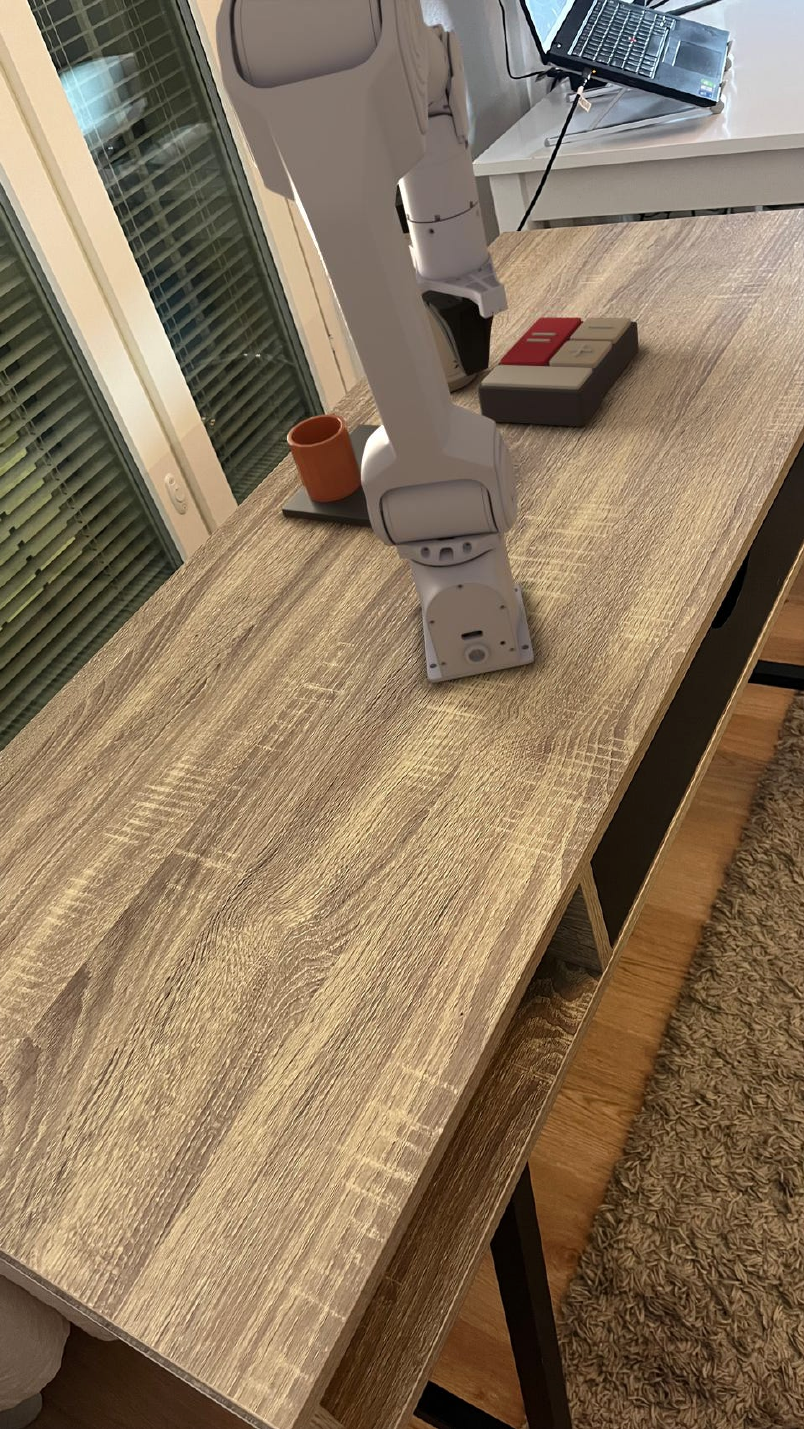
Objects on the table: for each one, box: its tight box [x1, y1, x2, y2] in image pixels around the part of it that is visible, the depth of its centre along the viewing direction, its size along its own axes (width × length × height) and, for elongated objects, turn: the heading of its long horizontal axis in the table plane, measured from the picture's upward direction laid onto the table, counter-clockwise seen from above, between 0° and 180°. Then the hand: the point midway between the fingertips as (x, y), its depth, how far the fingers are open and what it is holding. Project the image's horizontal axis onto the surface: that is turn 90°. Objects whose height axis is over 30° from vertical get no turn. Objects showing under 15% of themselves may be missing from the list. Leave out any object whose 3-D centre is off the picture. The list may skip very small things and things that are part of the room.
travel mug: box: [395, 183, 477, 393], centre depth 107 cm, size 6×7×20 cm
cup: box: [286, 413, 361, 502], centre depth 100 cm, size 6×6×6 cm
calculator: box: [476, 316, 640, 427], centre depth 106 cm, size 11×4×15 cm
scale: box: [281, 423, 381, 528], centre depth 103 cm, size 15×12×2 cm
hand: (475, 369), depth 92 cm, fingers closed
